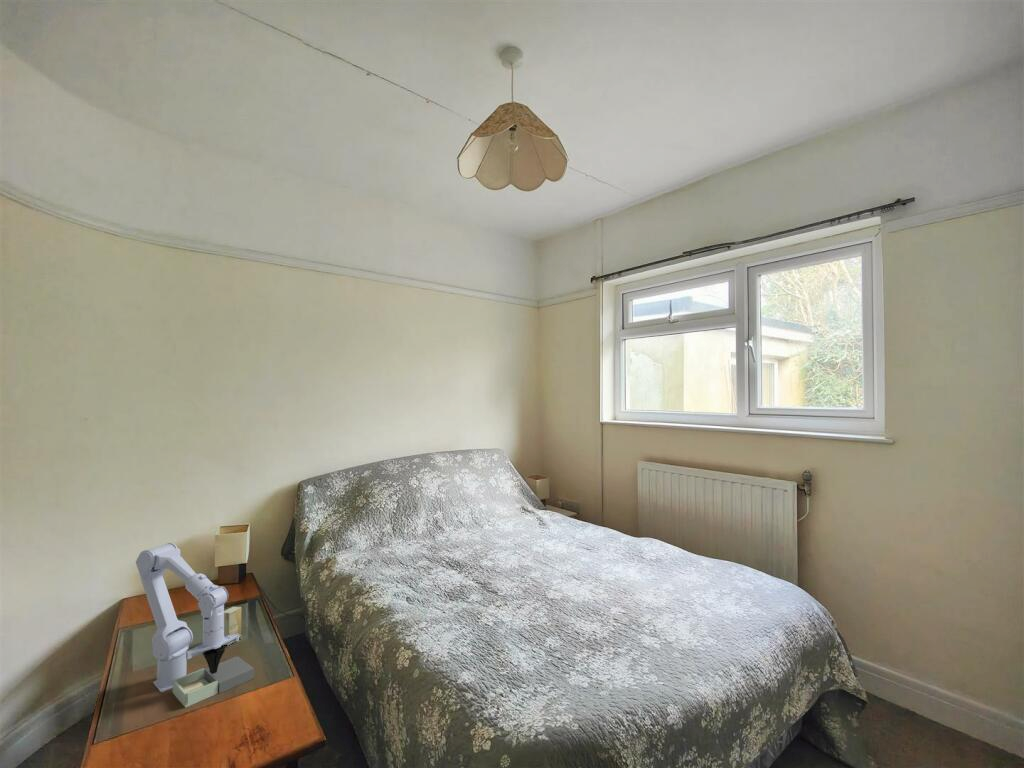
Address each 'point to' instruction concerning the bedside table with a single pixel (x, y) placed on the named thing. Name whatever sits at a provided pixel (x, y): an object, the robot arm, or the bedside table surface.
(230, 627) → the skincare box
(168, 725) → the bedside table surface
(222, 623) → the robot arm
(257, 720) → the bedside table surface
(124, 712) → the bedside table surface
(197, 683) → the birch block
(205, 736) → the bedside table surface
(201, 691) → the tray
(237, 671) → the plate
